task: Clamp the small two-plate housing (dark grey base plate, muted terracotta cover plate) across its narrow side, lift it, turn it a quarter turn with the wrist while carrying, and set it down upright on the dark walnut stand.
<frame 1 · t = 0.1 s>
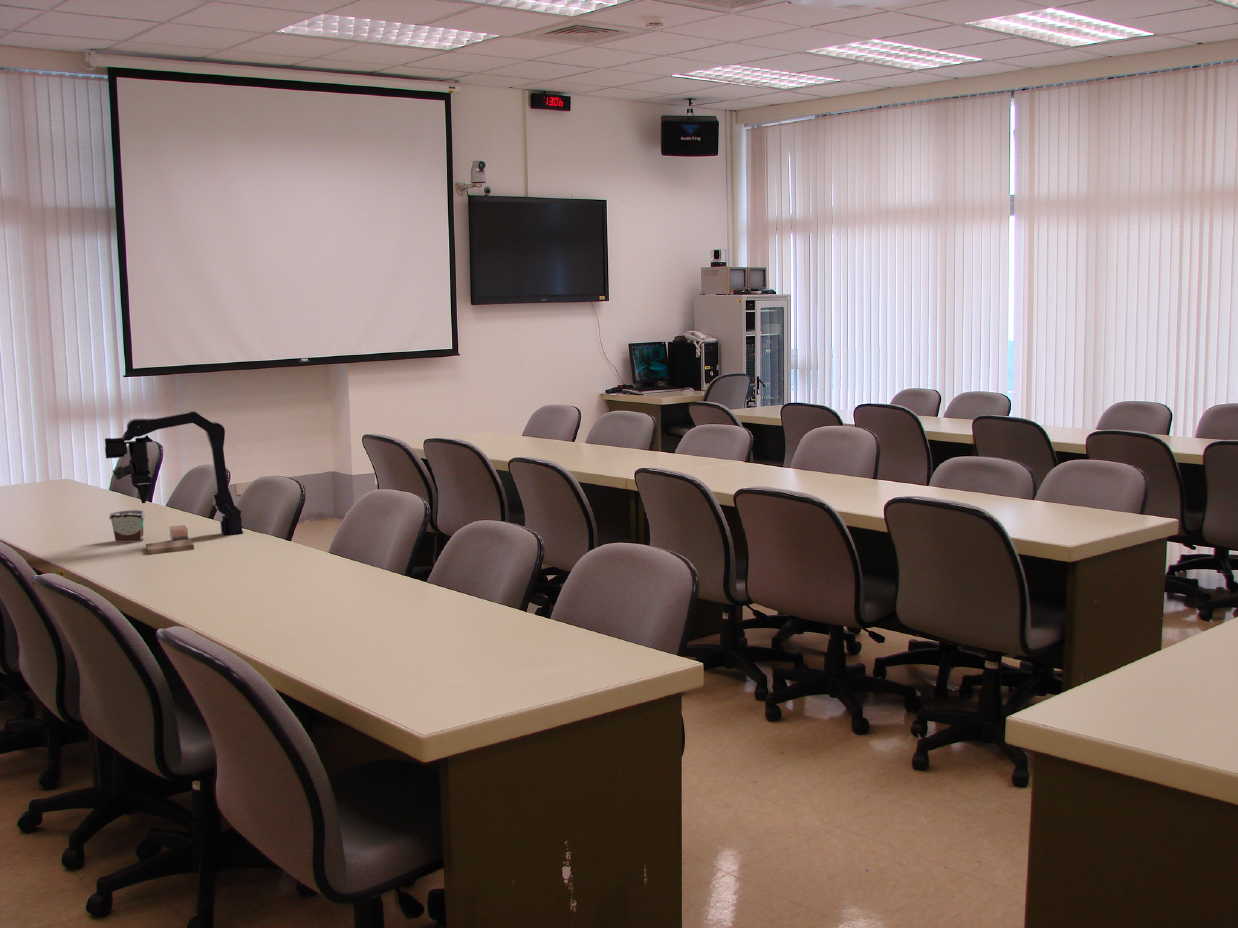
hand: (143, 501, 373), 15 cm above the table, tool pointing down, fingers open, 9 cm apart
two-plate housing: (179, 541, 376), on the table
food container: (133, 540, 381), on the table
walnut stand: (169, 548, 364), on the table
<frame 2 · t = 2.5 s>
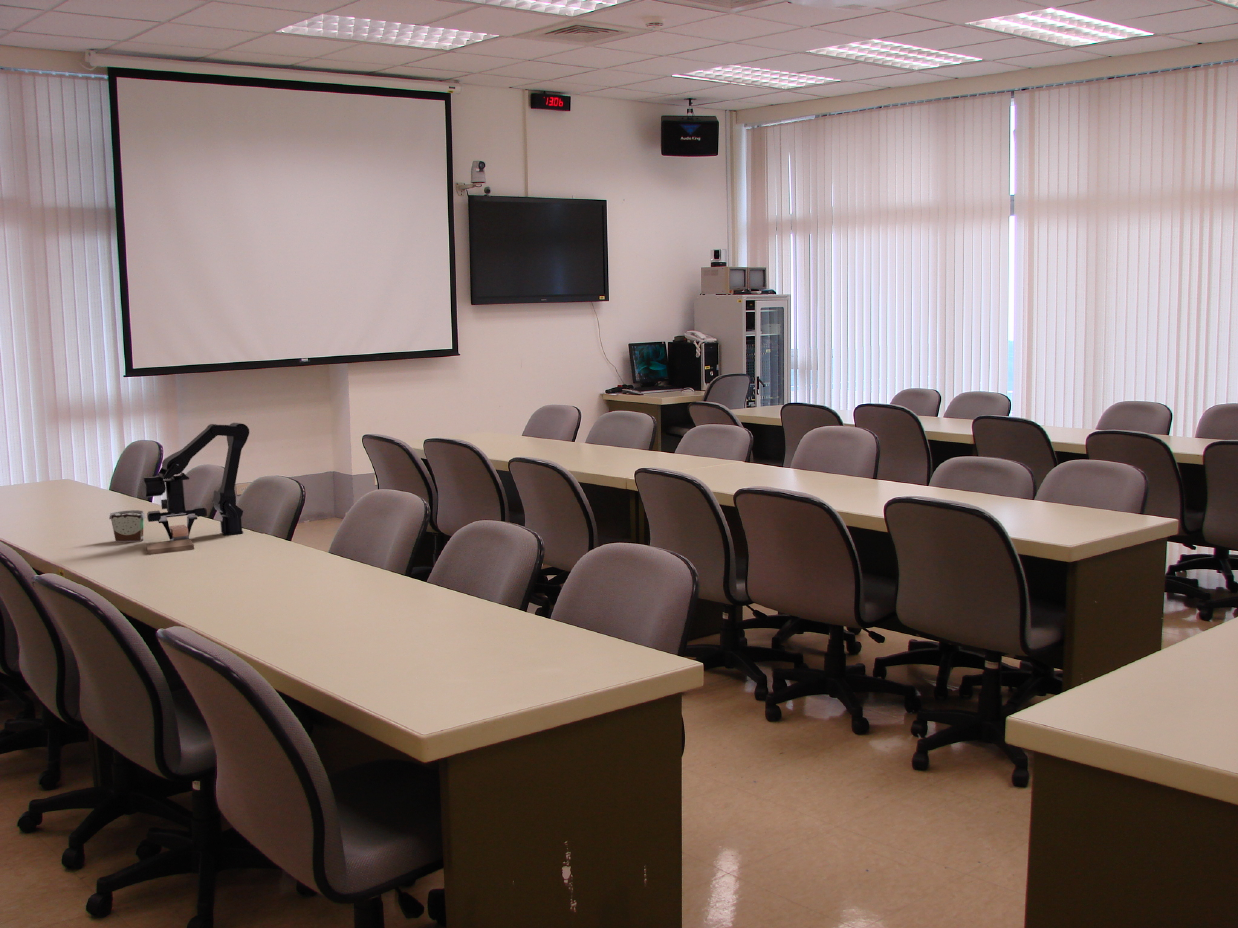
hand: (179, 538, 376), 1 cm above the table, tool pointing down, fingers closed on two-plate housing, 5 cm apart
two-plate housing: (179, 541, 376), on the table, touching gripper
everything else where it was.
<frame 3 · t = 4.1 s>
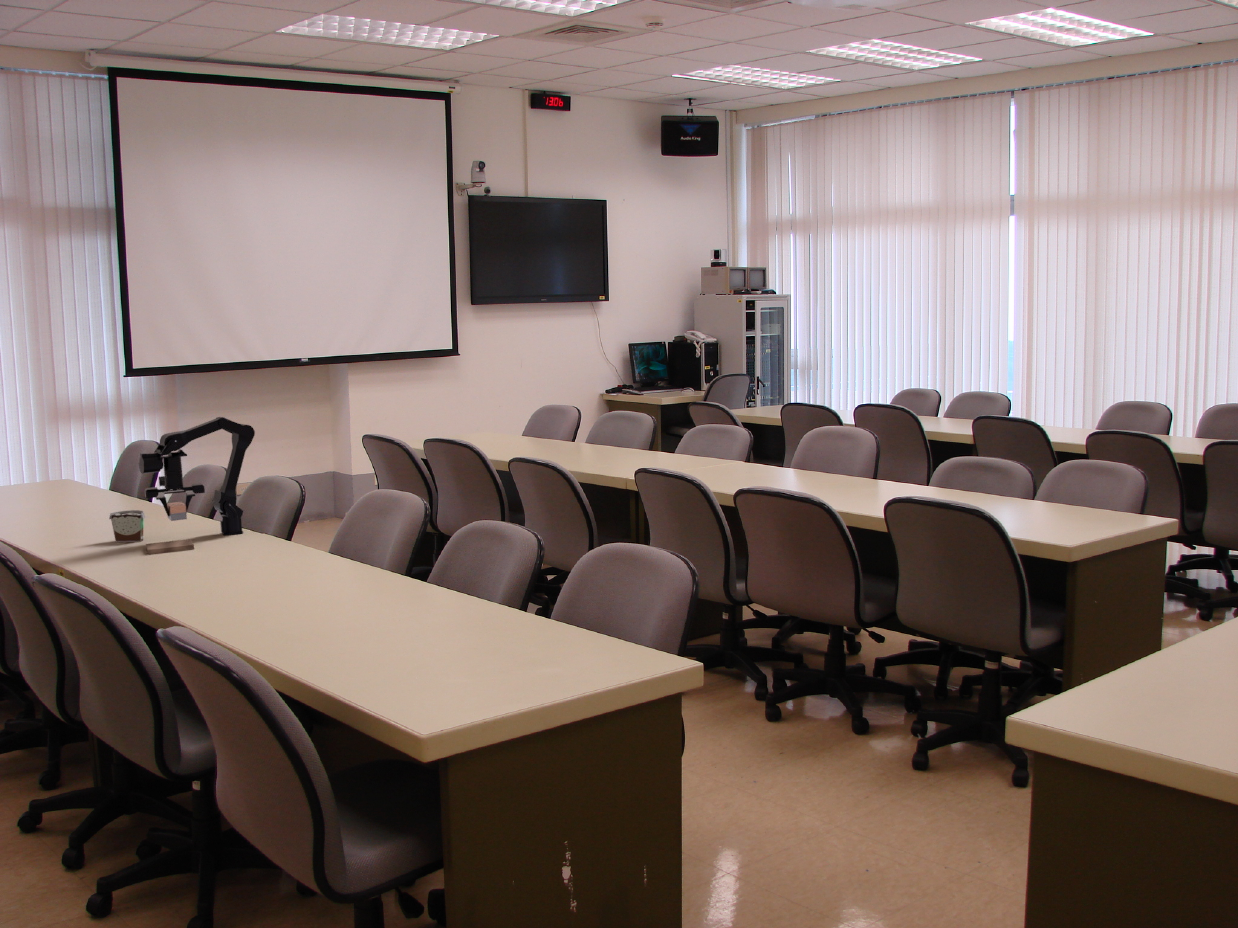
hand: (176, 515, 374), 9 cm above the table, tool pointing down, fingers closed on two-plate housing, 5 cm apart
two-plate housing: (177, 518, 374), point 8 cm above the table, touching gripper
everything else where it was.
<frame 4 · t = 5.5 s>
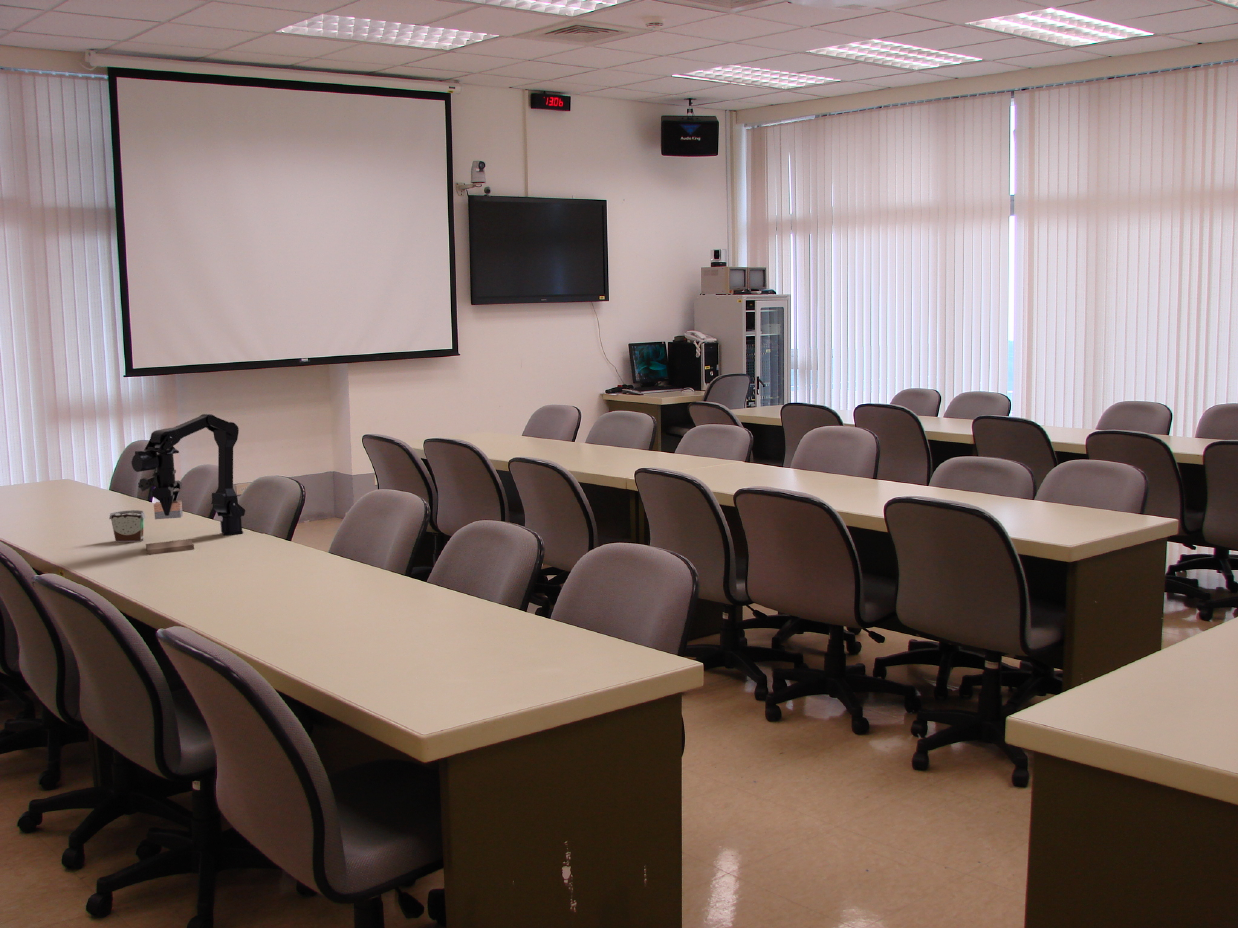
hand: (168, 514, 365), 11 cm above the table, tool pointing down, fingers closed on two-plate housing, 5 cm apart
two-plate housing: (169, 517, 365), point 10 cm above the table, touching gripper
everything else where it was.
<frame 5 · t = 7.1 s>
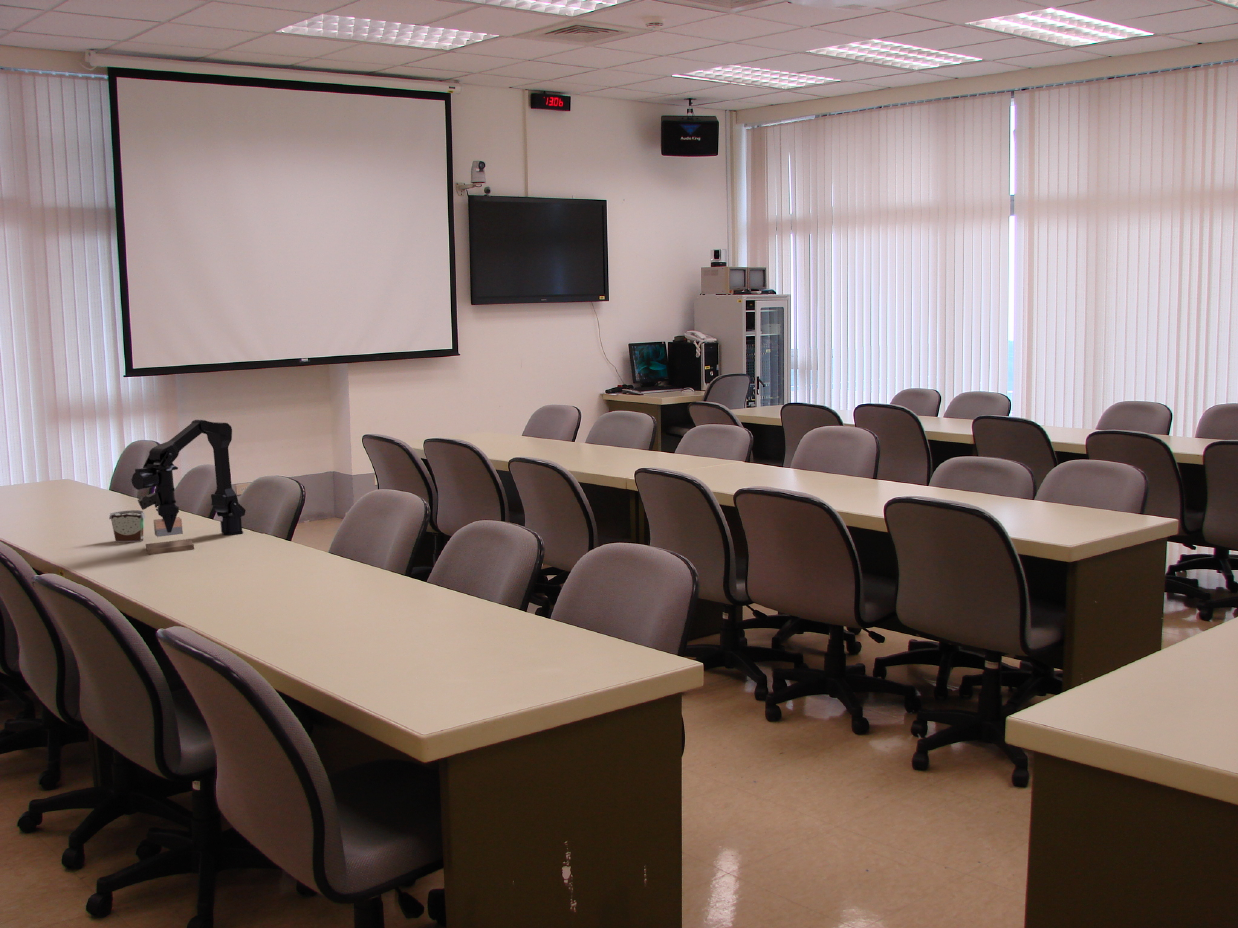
hand: (168, 531, 363), 6 cm above the table, tool pointing down, fingers closed on two-plate housing, 5 cm apart
two-plate housing: (168, 534, 363), point 5 cm above the table, touching gripper
everything else where it was.
when the fingers open (4 cm above the table, at t = 8.4 s): two-plate housing drops 1 cm, resting on walnut stand.
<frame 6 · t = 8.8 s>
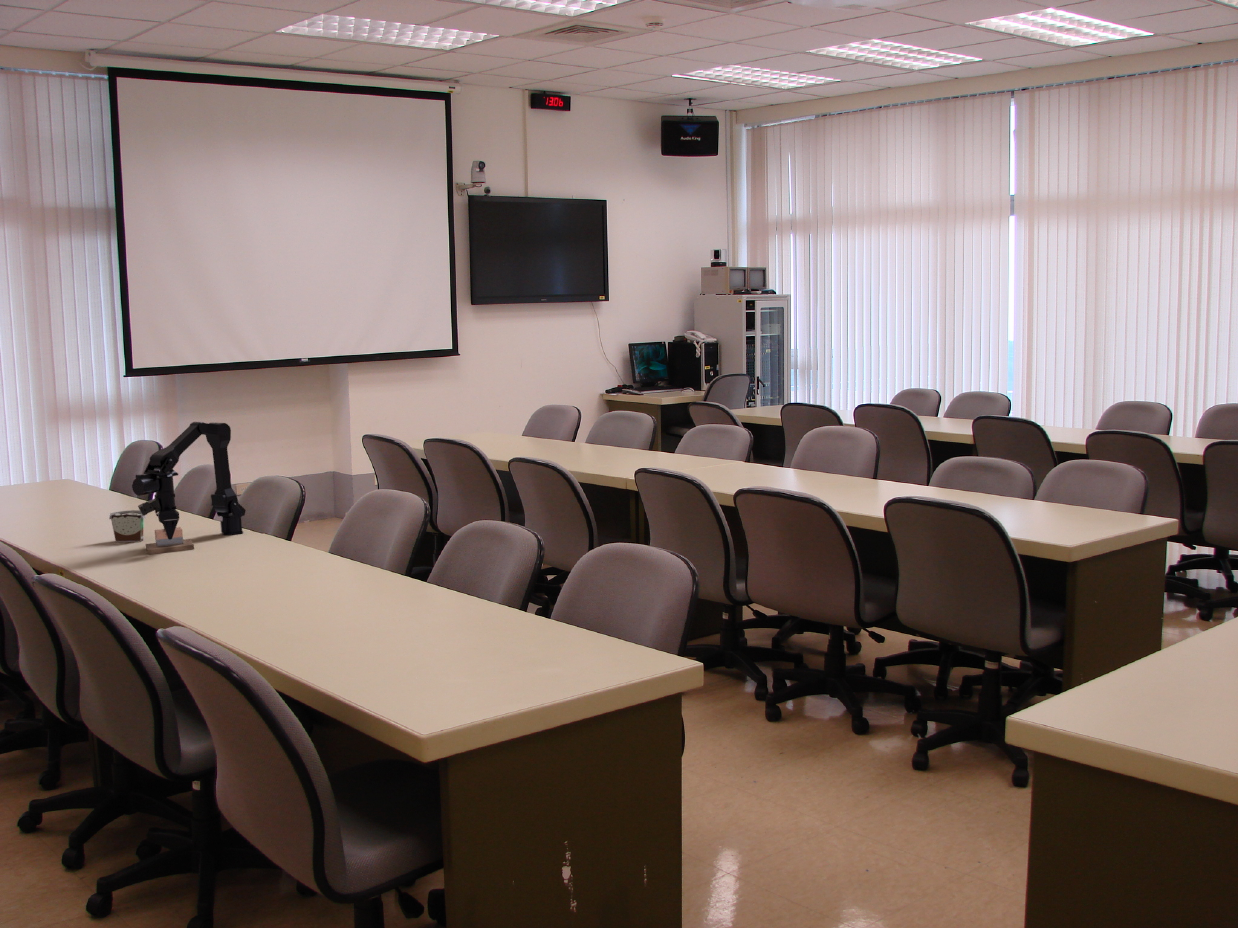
hand: (169, 536, 363), 4 cm above the table, tool pointing down, fingers open, 9 cm apart
two-plate housing: (169, 544, 364), point 1 cm above the table, touching walnut stand
everything else where it was.
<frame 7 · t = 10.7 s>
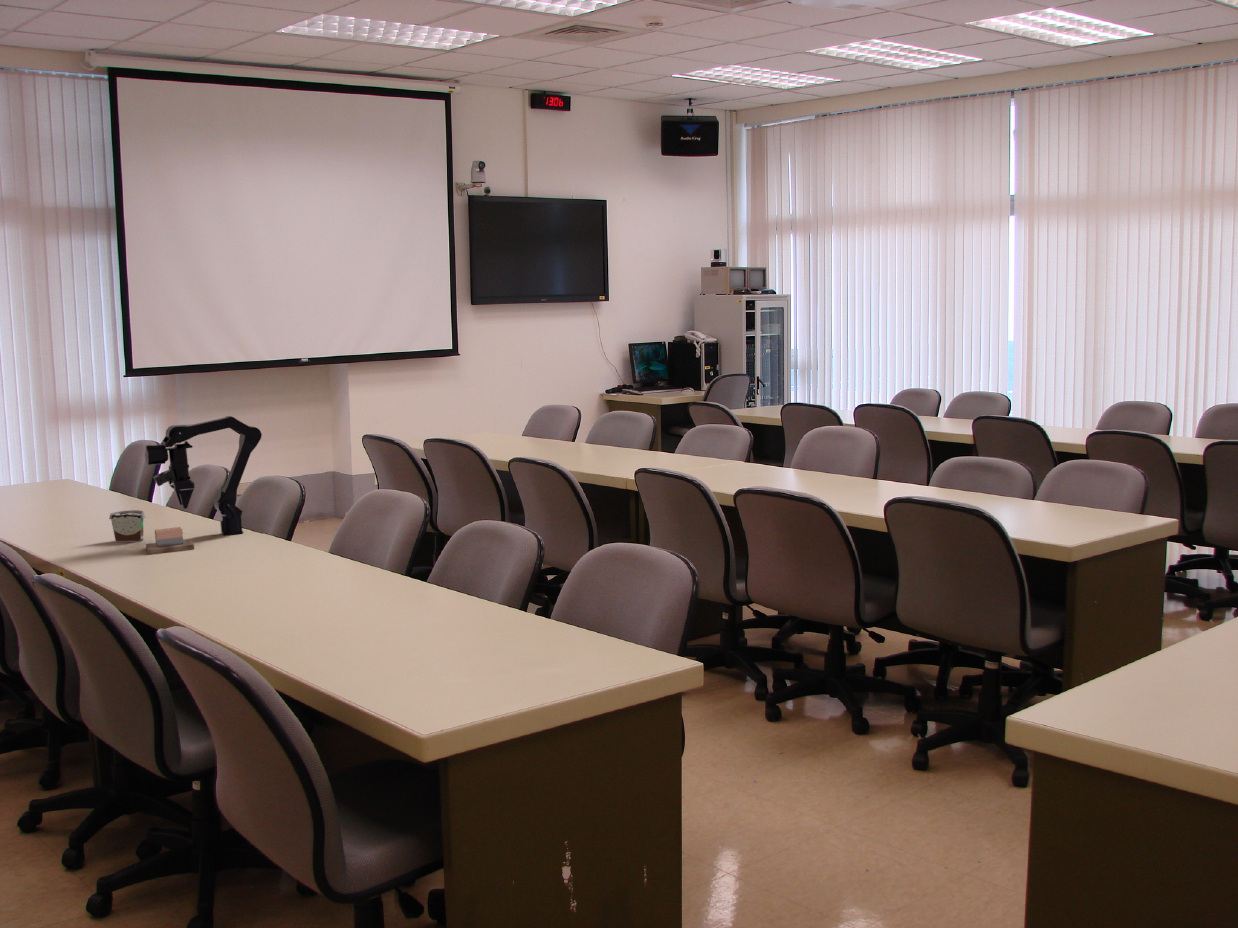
hand: (183, 506, 377), 12 cm above the table, tool pointing down, fingers open, 9 cm apart
nothing on the table moved.
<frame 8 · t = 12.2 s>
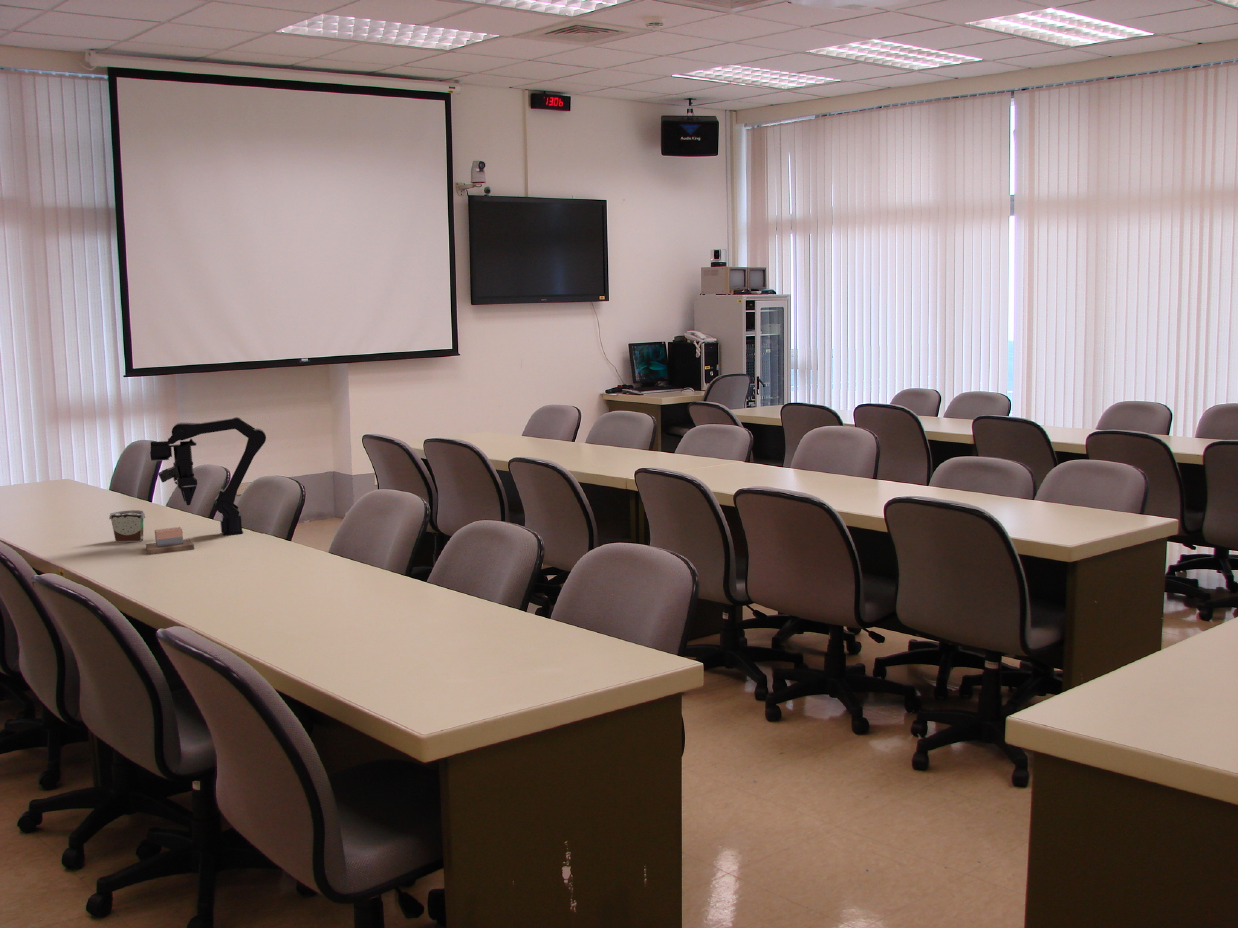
hand: (187, 503, 381), 12 cm above the table, tool pointing down, fingers open, 9 cm apart
nothing on the table moved.
at the end: two-plate housing inside the target area on the walnut stand (0.0 cm from its centre), point 1.5 cm above the walnut stand's base; two-plate housing tilted 0°; the gripper is holding nothing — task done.
